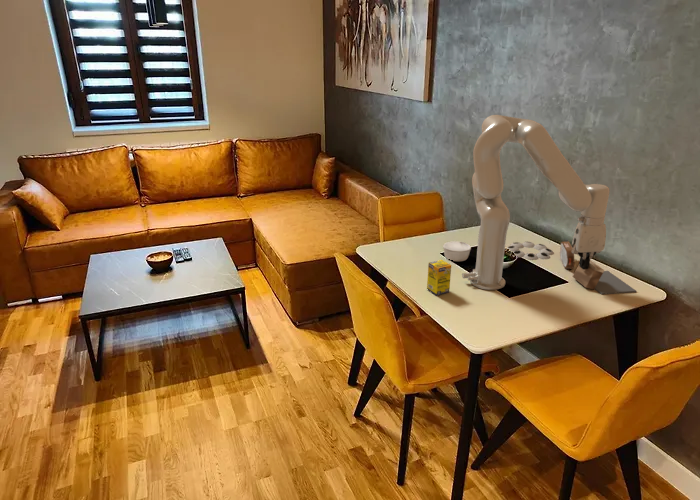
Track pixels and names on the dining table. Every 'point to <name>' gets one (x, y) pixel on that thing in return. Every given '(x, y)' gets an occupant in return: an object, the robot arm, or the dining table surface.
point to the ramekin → (456, 250)
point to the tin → (567, 255)
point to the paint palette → (541, 247)
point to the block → (588, 275)
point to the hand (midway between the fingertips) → (583, 267)
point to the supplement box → (439, 277)
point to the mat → (612, 285)
